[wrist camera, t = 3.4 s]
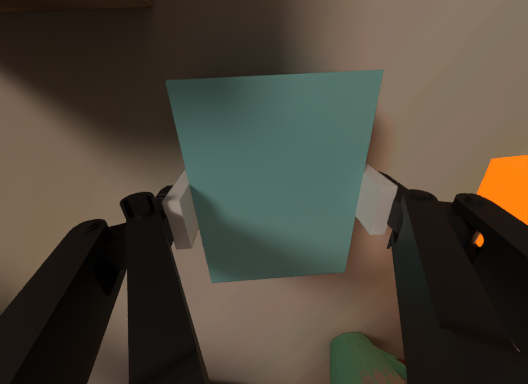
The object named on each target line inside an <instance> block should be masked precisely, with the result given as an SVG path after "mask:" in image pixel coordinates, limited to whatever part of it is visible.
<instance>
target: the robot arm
mask: <svg viewBox="0 0 528 384" xmlns="http://www.w3.org/2000/svg"><path fill="white" fill-rule="evenodd" d="M119 204H120V206H121V208H122V211H123V213H124V216H125V218H126V223H123V224H119V225H115V226H111V227H108V225H107V223H106V221H105V220H103V219H94V220H90V221H89V220H88V221H85V222H82V223H80V224H79V225H77V226H76V227H74V228H73V229H71V230H70V231H69V232H68V234H67V235H66V236H65V237H64V238H63V240H62V241H61V242H60V243H59V245H58V246H57V247H56V248H55V249H54V251H53V252H52V253H51V254H50V256H49V257H48V258H47V259H46V260H45V262H44V263H43V264H42V265H41V267H40V268H39V269H38V270H37V271H36V273H35V274H34V275H33V276H32V278H31V279H30V280H29V281H28V282H27V284H26V285H25V286H24V287H23V289H22V290H21V291H20V292H19V293H18V295H17V296H16V297H15V298H14V300H13V301H12V302H11V303H10V304H9V306H8V307H7V308H6V309H5V311H4V312H3V313H2V314H1V315H0V384H87V382H88V380H89V377H90V374H91V371H92V368H93V365H94V362H95V359H96V357H97V354H98V351H99V348H100V345H101V342H102V339H103V336H104V334H105V331H106V328H107V325H108V322H109V319H110V316H111V313H112V311H113V308H114V305H115V302H116V299H117V296H118V293H119V290H120V288H121V285H122V282H123V279H124V276H125V273H126V270H127V292H128V349H129V384H210V381H209V377H208V374H207V371H206V367H205V364H204V360H203V357H202V353H201V350H200V346H199V343H198V339H197V336H196V332H195V329H194V325H193V322H192V319H191V315H190V312H189V308H188V305H187V301H186V298H185V294H184V291H183V287H182V284H181V280H180V277H179V274H178V270H177V267H176V263H175V260H174V256H173V253H172V250H171V245H172V243H173V241H174V243H175V247H176V249H188V248H192V246H193V243H194V240H195V237H196V234H197V231H198V228H199V225H198V221H197V216H196V212H195V208H194V203H193V199H192V195H191V190H190V186H189V182H188V178H187V173H186V169H185V170H184V171H183V173H182V174H181V176H180V177H179V179H178V180H177V181H176V183H175V184H174V185H171V186H166V187H165V188H163V189H162V190H160V192H159V193H158V194H157V195H156V197H154V195H153V194H152V193H150V192H139V193H135V194H132V195H129V196H127V197H125V198H124V199H122V200H121V201H120V203H119ZM355 216H356V217H357V218H358V220H359V221H360V222H361V224H362V225H363V226H364V228H365V229H366V230H367V232H368V233H369V234H370V235H378V234H385V231H386V228H387V224H388V225H389V226H390V227H391V228H392V233H391V236H390V239H389V243H388V246H387V249H390V246H391V247H392V255H393V263H394V272H395V280H396V289H397V297H398V306H399V314H400V323H401V331H402V340H403V348H404V357H405V365H406V373H407V384H528V225H527V224H525V223H524V222H522V221H521V220H519V219H518V218H516V217H515V216H513V215H512V214H510V213H509V212H507V211H506V210H505V209H503V208H502V207H500V206H499V205H497V204H496V203H494V202H493V201H491V200H489V199H487V198H485V197H482V196H481V195H477V194H476V195H475V194H472V193H470V194H467V193H460V194H457V195H456V196H455V199H454V201H453V203H452V202H441V201H438V200H437V198H436V197H435V196H434V195H432V194H431V193H428V192H425V191H422V190H415V189H410V190H408V189H407V188H405V187H404V186H403V185H401V184H400V183H398V182H397V181H396V180H394V179H393V178H391V177H390V176H388V175H387V174H384V173H382V172H378V171H376V170H375V169H373V168H372V167H371V166H369V165H368V164H367V163H366V164H365V169H364V173H363V178H362V183H361V188H360V194H359V199H358V204H357V209H356V215H355ZM480 234H481V235H482V236H483V239H484V242H483V244H482V246H481V247H479V246H478V245H477V244H476V243H475V242H476V240H477V239H478V237H479V235H480ZM510 339H511V340H512V341H513V343H514V344H515V345H516V347H517V348H518V349H519V350H520V352H519V351H517V349H516V348H515V347H514V345H513V343H512V342H511V340H510Z"/></svg>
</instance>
